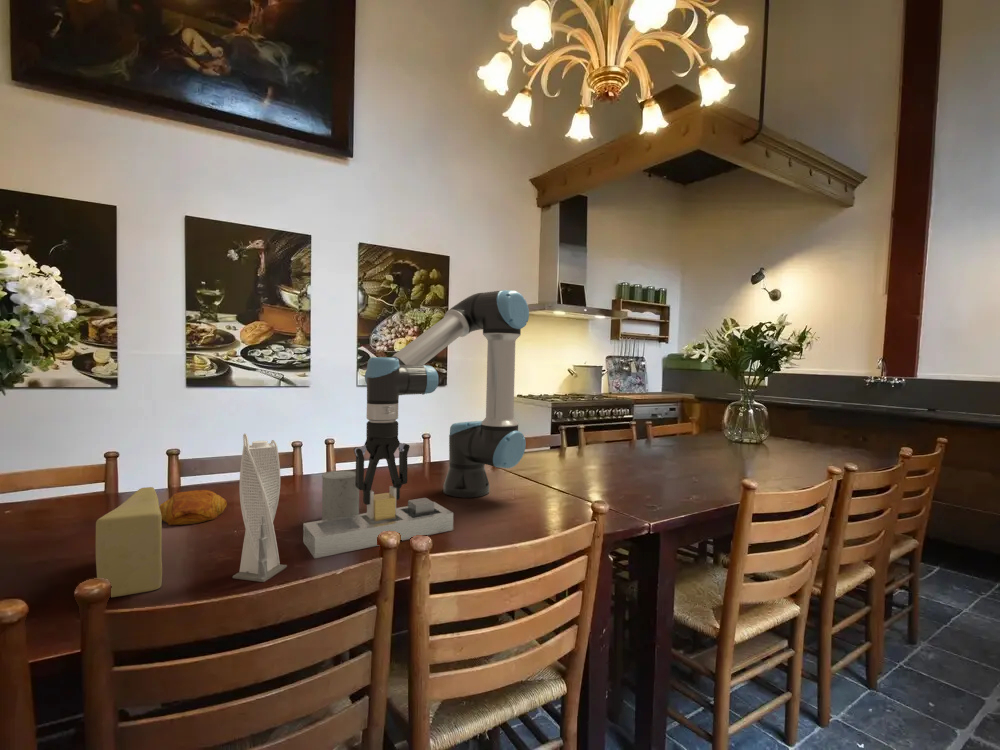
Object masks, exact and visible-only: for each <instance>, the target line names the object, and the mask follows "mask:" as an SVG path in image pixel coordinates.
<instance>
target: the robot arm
mask: <svg viewBox="0 0 1000 750" xmlns="http://www.w3.org/2000/svg"><path fill="white" fill-rule="evenodd" d="M529 318H530V309H529V305H528V303H527V301H526V299H525V298H524V296H523V294H521V293H520V292H518V291H517V290H511V289H510V290H509V289H507V290H506V289H501V290H495V291H489V292H488V291H487V292H477V293H474V294H472V295H470V296H468V297H466V298H464V299H463V300H461V301H460V302H458V303H457V304H455V305H454V306H452V307H451V308H450V309H448V310H447V311H446V312H445V313H444V317H443V318H442V319H440V320H438V322H436V323H435V324H433V325H432V326H431V327H429V328H428V329H427V330H425V331H424V332H423V333H421V334H420V335H418V337H416V338H414V339H413V340H412V341H410V342H409V343H408V344H406V345H405V346H404V347H403V348H401V349H400V350H398V351H397V352H396V353H394V354H393V355H392V356H390V357H385V356H384V357H380V356H379V357H375V356H373V357H370V358H369V359H368V361H367V365H366V369H365V370H366V371H364V372H365V373H364V380H365V383H366V419H367V420H368V421H367V422H366V435H365V436H366V440H365V442H364V444H363V445H362V446H359V447H357V446H356V447H354V448H353V452H354V456H355V471H356V479H355V486H356V488H358V489H359V491H362V492H363V495H362V496H363V497H362V499H363V501H362V502H363V504H364V505H366V513H367V516H368V517H369V518H370V519H373V518H374V495H375V491H374V490H373V489H372V485H373V482H374V479H375V474H376V471H377V467H378V465H379V462H380V460H383V459H385V460H386V463H387V466H388V472H389V475H390V479H391V482H392V483H391V484H392V485H389V488H388V489H389V492H388V493H389V494H391V495H392V496H394V497H395V515H396V508H397V500H399V501H400V494H401V493H400V492H401V488H402V486H403V485H406V484H408V455H409V454H408V453H409V451H410V444H407V443H405V442H400V440H399V422H398V421H397V420H398V419H399V400H400V399H399V396H409V395H412V396H413V395H425V394H426V395H427V394H432V393H434V392H435V391H436V389H437V388H438V386H439V374H438V373H439V372H437V370H436V368H435V367H433V366H432V365H426V363H428V362H430V360H432V359H433V358H435V357H436V356H437V355H438V354H439V353H441V352H442V351H443V350H444V349H445V348H447V347H448V346H450V345H451V344H452V343H453V342H454V341H456V340H457V339H458V338H459V337H460V338H464V337H466V336H467V335H468V334H470V333H472V332H475V331H479V330H482V335H483V337H484V338H485V339H486V340H487V348H486V349H487V353H486V356H487V358H486V360H487V361H486V391H485V392H486V394H485V395H486V399H485V417H484V419H483V420H475V421H473V420H472V421H461V422H455V423H452V424H451V426H450V427H449V434H448V437H449V438H448V442H449V443H448V449H449V450H448V453H449V455H448V460H449V463H448V464H449V465H448V469H447V474H446V477H445V480H444V483H443V490H442V491H443V494H445V495H448V496H449V497H450V496H451V497H454V498H478V497H484V496H486V495H488V494H489V493H490V481H489V477H488V475H487V473H486V469H485V465H487V466H492V467H496V468H499V469H500V468H501V469H502V468H503V469H511V468H512V469H513V468H514V467H516V466H517V465H518V464H519V463H520V460H522V459H523V456H524V454H525V451H526V447H527V446H526V445H527V444H526V443H527V442H526V437H525V436H524V434H523V433H522V432H521V431H519V423H518V421H517V420H516V419H515V418H514V415H515V413H514V412H515V410H514V409H515V373H516V372H515V371H516V368H515V367H516V341H517V340H518V338H520V337H521V329H523V328H524V327H526V325H528V324H527V323H528V321H529ZM397 450H398V451H399V453H398V468H397V464H396V458H395V453H396V452H397ZM366 451H367V452H368V454H369V458H368V464H367V468H366V473H365V455H366Z"/></svg>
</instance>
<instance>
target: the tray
mask: <svg viewBox="0 0 1000 750" xmlns="http://www.w3.org/2000/svg"><path fill="white" fill-rule="evenodd" d="M302 525H303V527H302V528H303V530H302V531H303V532H302V533H303V535H302V536H303V538H302V539H303V541H302V542H303V544H304V545H305V547H306V548H307V550H308V551H309V552H310V554H311V556H312V557H313V558H314V559H320V558H325V557H330V556H333V555H339V554H344V553H348V552H352V551H357V550H362V549H363V550H364V549H368V548H374V547H378V546H379V545H377V537H378V535H379V534H380V533H381V532H383V531H389V530H390V531H396V532H398V533H400V535H401V540H402V541H401V542H403V541H407V540H411V539H410V538H411V537H413V536H416V535H427V536H432V535H436V534H441V533H446V532H451V531H453V530H454V512H453V511H451V510H449V509H447V508H446V507H444V506H442V505H440V504H439V503H437V502H436V501H432V500H431V499H429V498H427V497H422V498H415V499H409V500H407V506H401V507H396V515H395V518H392V519H386V520H380V521H374V520H373V519H370V518H369V517H368V516H367V512H363V513H359V514H357V515H351V516H345V517H339V518H332V519H326V520H322V519H320V520H316V521H309V522H303V524H302Z"/></svg>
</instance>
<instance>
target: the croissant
mask: <svg viewBox="0 0 1000 750" xmlns="http://www.w3.org/2000/svg"><path fill="white" fill-rule="evenodd" d="M227 505H228V503H227V500H226V499H225V498H223V497H222V496H221V495H219V494H217V493H215V492H214V491H212V490H207V489H196V490H188V491H180V492H178V491H177V492H175V493H174V494H173V495H172V496H171V497H170V498H169V499H167V500H166V501H164V502H162V503H160V504H159V508H160V511H161V516H162V522H164V523H167V526H184V525H193V524H194V525H195V524H199V523H203V522H206V521H214V520H215V519H217V518H218V517H219V516H220V515H221V514H222V513H224V511H225V509H226V508H227Z"/></svg>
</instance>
